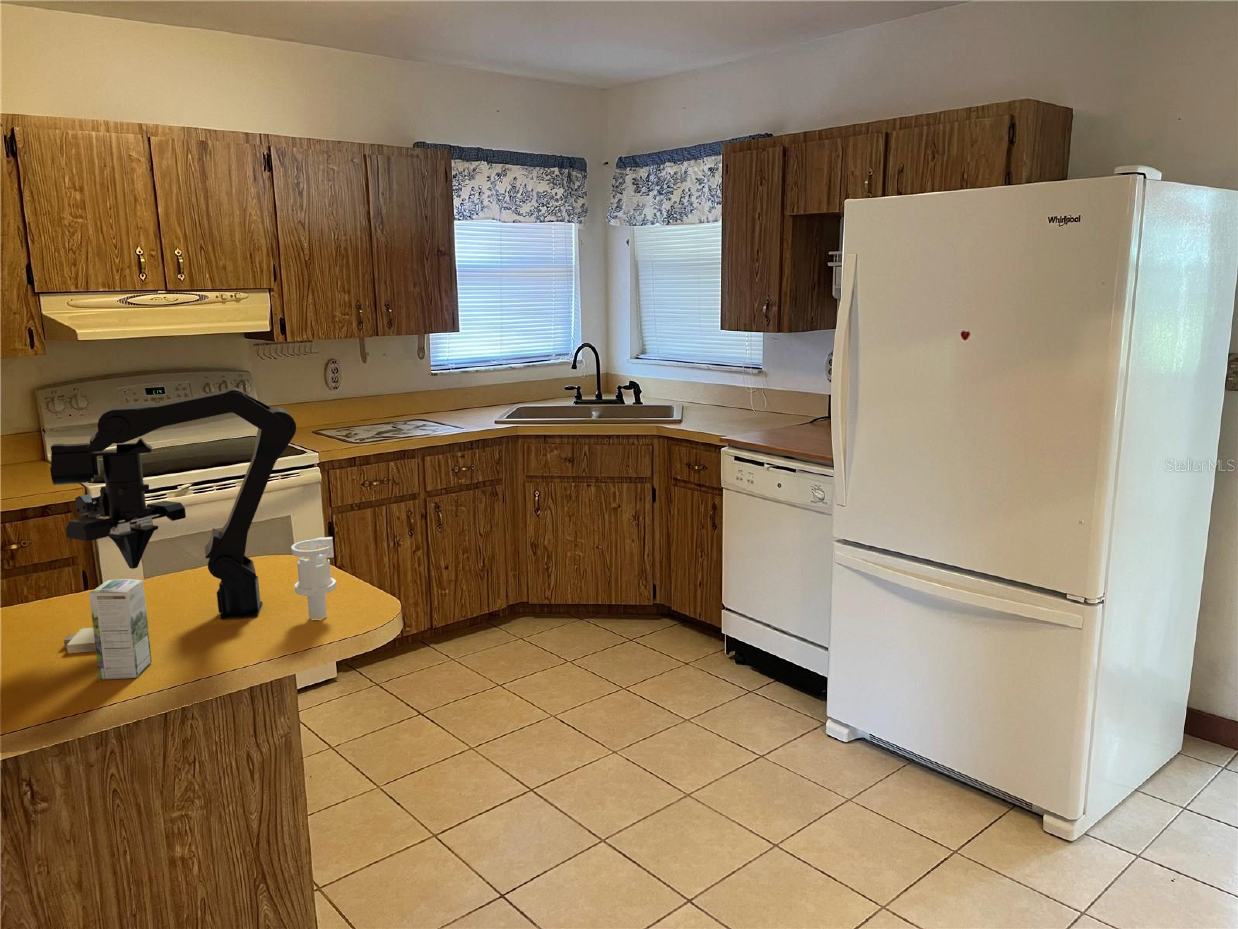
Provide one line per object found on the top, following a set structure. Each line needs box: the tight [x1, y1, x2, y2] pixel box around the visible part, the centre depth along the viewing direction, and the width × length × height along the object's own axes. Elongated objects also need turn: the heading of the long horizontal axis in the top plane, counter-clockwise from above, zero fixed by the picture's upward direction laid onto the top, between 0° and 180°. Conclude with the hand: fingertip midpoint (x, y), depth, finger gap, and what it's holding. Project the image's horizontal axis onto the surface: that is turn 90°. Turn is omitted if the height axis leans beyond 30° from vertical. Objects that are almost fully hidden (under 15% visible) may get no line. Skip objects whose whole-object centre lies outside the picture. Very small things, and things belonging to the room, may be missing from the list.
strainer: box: [290, 536, 337, 620], centre depth 161 cm, size 7×7×15 cm
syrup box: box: [89, 578, 153, 680], centre depth 140 cm, size 6×6×14 cm
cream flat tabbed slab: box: [63, 627, 96, 654], centre depth 152 cm, size 10×7×2 cm
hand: (133, 568), depth 155 cm, fingers closed
